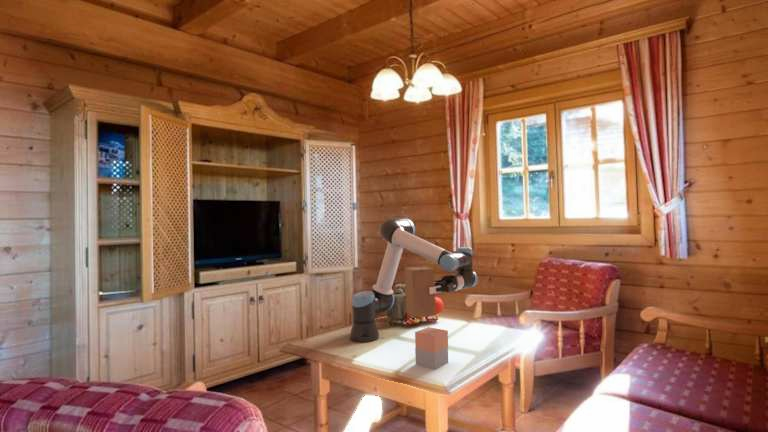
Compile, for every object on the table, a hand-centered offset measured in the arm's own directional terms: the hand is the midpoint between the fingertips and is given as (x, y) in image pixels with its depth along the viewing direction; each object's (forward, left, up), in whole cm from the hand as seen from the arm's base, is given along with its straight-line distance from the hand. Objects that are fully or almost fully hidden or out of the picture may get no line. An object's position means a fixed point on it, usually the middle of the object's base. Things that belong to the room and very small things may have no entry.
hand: (418, 289), depth 192 cm
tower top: (+4, +2, -25) cm, 26 cm away
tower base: (+4, +2, -32) cm, 32 cm away
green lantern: (-56, +61, -32) cm, 89 cm away
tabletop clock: (-48, +47, -32) cm, 75 cm away
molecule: (-37, +57, -32) cm, 75 cm away
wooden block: (0, +1, -11) cm, 11 cm away
